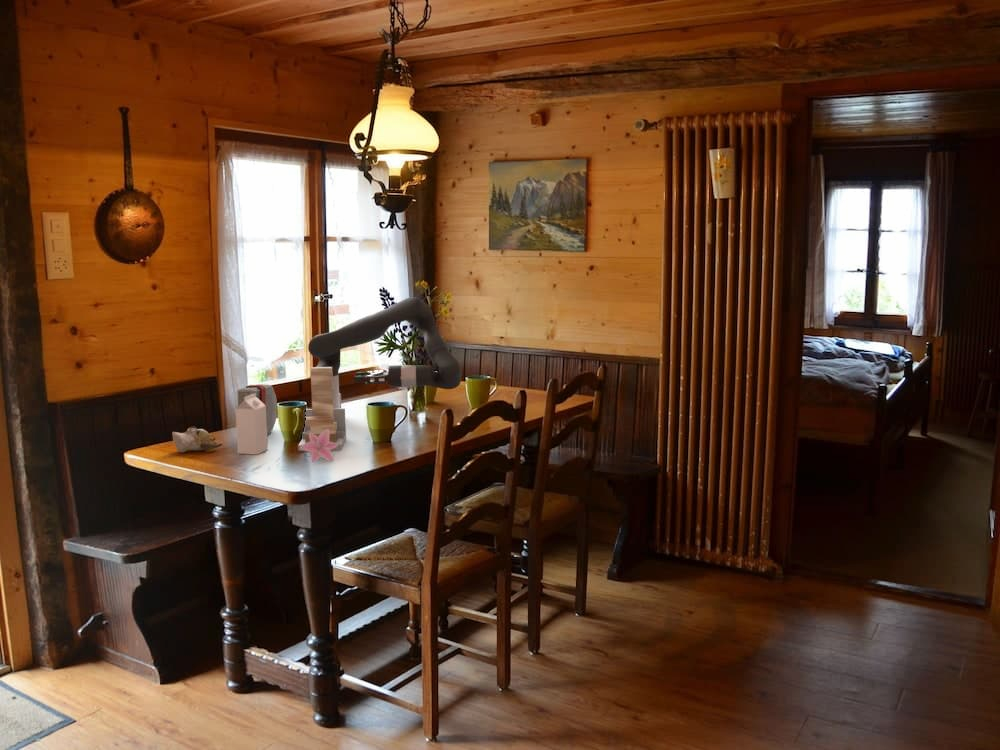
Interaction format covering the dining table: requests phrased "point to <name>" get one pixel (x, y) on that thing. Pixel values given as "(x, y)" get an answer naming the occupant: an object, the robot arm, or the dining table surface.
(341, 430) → the slot rack
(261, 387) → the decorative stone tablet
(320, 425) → the offcut stack
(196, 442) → the ceramic sculpture
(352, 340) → the robot arm
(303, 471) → the dining table surface
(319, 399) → the wooden plank
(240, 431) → the milk carton
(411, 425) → the dining table surface
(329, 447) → the lily
